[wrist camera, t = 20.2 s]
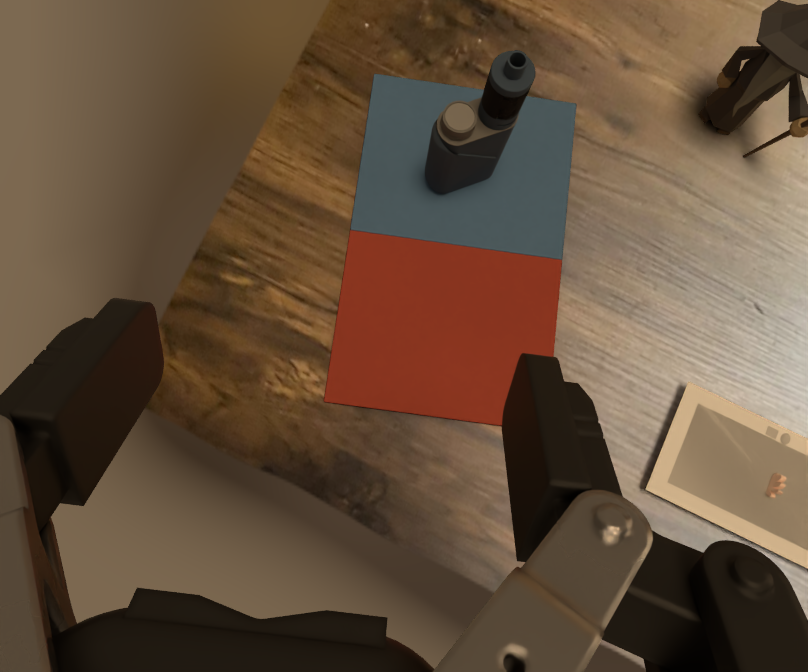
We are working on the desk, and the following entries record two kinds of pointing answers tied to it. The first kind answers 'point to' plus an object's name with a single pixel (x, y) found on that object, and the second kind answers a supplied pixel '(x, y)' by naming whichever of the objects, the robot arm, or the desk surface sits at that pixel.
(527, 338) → the sorting mat
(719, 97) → the wizard figurine
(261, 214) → the desk surface
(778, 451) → the touchpad
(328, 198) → the desk surface
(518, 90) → the vaping device
